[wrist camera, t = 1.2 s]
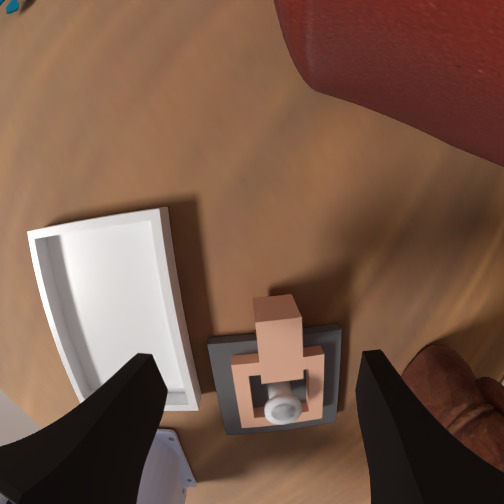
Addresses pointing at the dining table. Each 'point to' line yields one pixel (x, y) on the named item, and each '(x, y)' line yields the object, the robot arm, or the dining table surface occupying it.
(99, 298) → the tray
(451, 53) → the plant pot
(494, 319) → the dining table surface
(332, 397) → the grey plate with knob
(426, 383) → the wooden figurine
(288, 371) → the ring
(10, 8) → the gear
